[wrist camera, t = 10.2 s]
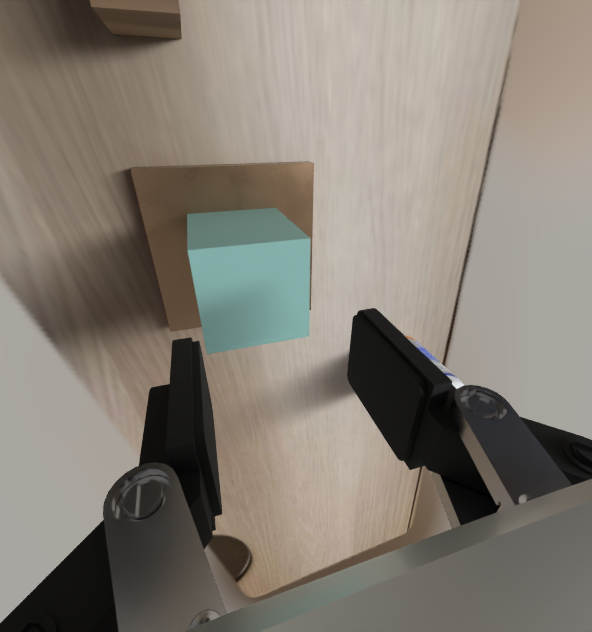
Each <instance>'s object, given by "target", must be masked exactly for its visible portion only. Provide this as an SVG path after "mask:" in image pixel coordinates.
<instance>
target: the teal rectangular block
mask: <svg viewBox="0 0 592 632" xmlns="http://www.w3.org/2000/svg"><path fill="white" fill-rule="evenodd" d="M187 251H188V256H189V261H190V266H191V272H192V277H193V282H194V288H195V293H196V298H197V303H198V309H199V314H200V319H201V325H202V330H203V335H204V340H205V346H206V351H207V354H211V353H216V352H222V351H228V350H233V349H239V348H245V347H250V346H256V345H262V344H267V343H273V342H279V341H284V340H290V339H296V338H301V337H307V336H309V303H310V237H308V236H307V235H306V234H305V233H304V232H303V231H302V230H301V229H299V228H298V227H297V226H296V225H295V224H294V223H293V222H291V221H290V220H289V219H288V218H287V217H286V216H285V215H283V214H282V213H281V212H280V211H279V210H278V209H277V208H264V209H250V210H236V211H222V212H208V213H194V214H187Z"/></svg>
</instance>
